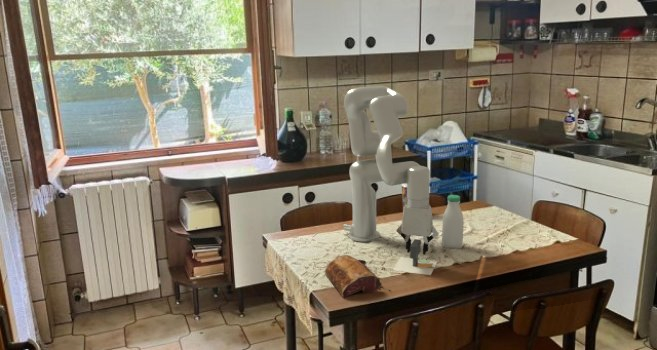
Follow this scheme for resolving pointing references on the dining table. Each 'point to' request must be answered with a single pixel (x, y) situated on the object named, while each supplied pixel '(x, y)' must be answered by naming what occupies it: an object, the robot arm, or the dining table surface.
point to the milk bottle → (452, 224)
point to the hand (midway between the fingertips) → (416, 251)
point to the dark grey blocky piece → (416, 253)
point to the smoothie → (404, 193)
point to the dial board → (407, 266)
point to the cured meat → (351, 276)
